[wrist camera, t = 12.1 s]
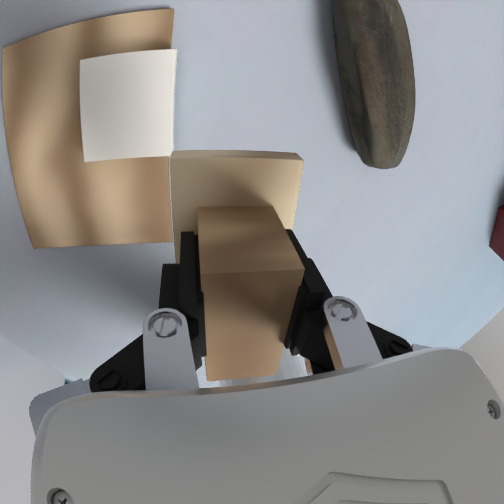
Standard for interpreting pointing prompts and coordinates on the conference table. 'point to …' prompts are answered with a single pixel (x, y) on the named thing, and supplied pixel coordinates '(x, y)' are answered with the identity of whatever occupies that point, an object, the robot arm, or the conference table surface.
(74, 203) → the cork mat
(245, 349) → the wooden float
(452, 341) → the conference table surface
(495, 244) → the toy houses
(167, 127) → the tile
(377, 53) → the decorative stone
